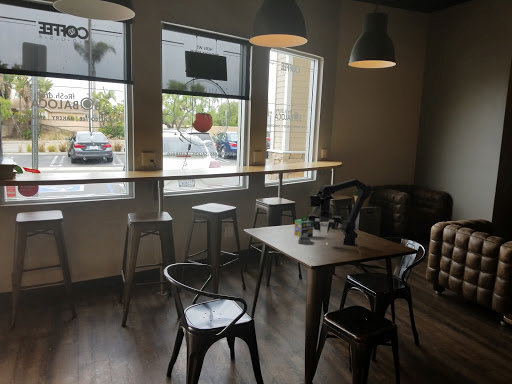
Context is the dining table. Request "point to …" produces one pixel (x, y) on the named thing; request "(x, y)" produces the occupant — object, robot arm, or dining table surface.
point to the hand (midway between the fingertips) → (323, 232)
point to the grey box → (323, 229)
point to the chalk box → (303, 227)
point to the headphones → (332, 223)
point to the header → (304, 240)
